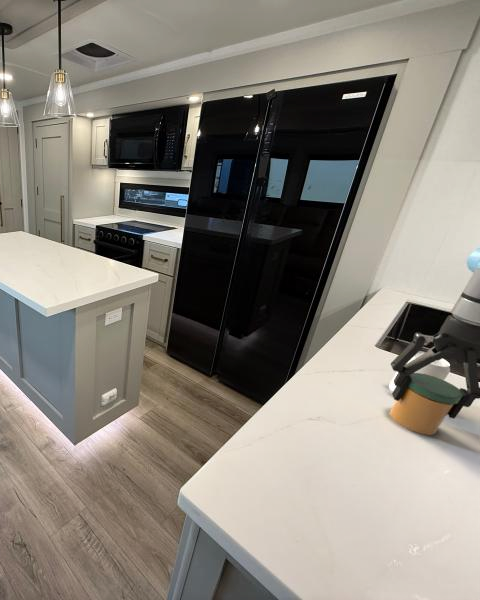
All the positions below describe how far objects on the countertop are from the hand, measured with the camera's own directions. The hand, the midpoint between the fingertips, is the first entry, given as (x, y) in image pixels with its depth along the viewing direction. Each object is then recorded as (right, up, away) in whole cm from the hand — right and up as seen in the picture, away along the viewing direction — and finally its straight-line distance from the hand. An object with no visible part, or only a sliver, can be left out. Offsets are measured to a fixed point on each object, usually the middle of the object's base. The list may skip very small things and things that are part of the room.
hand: (421, 405), depth 73 cm
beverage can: (+9, -1, +11) cm, 14 cm away
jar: (0, -5, +2) cm, 5 cm away
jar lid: (0, +5, -2) cm, 6 cm away
